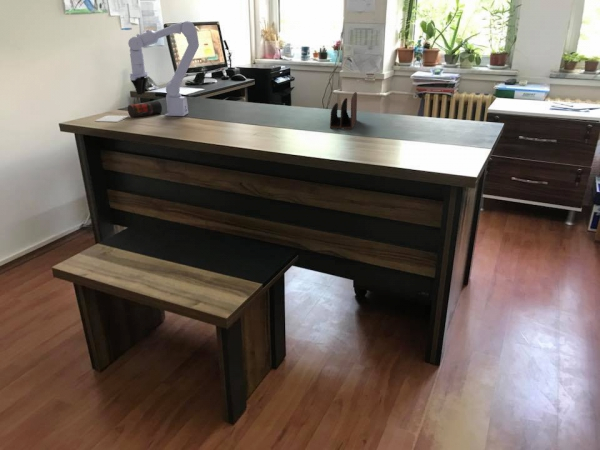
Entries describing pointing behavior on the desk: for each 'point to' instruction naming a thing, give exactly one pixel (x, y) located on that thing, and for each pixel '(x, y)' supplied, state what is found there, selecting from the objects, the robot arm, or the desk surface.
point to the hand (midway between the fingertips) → (141, 93)
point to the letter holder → (344, 114)
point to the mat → (111, 118)
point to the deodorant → (144, 109)
